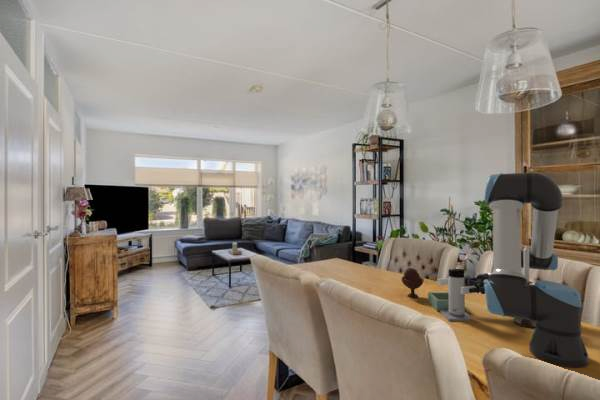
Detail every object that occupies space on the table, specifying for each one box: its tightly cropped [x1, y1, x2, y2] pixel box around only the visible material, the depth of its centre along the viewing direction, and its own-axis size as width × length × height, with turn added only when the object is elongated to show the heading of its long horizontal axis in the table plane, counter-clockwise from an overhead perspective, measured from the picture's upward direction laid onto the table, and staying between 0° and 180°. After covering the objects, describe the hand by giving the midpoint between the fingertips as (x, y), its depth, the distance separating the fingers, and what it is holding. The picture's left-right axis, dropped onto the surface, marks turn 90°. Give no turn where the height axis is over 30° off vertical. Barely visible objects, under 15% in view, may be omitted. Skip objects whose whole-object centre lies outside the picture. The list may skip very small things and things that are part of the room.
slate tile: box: [439, 310, 474, 322], centre depth 140 cm, size 10×10×1 cm
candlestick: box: [512, 237, 536, 329], centre depth 131 cm, size 11×11×35 cm
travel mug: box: [447, 268, 466, 317], centre depth 140 cm, size 6×7×20 cm
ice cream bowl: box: [401, 267, 425, 299], centre depth 168 cm, size 11×11×15 cm
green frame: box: [427, 291, 449, 312], centre depth 152 cm, size 12×12×5 cm
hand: (449, 286), depth 139 cm, fingers open, 13 cm apart
